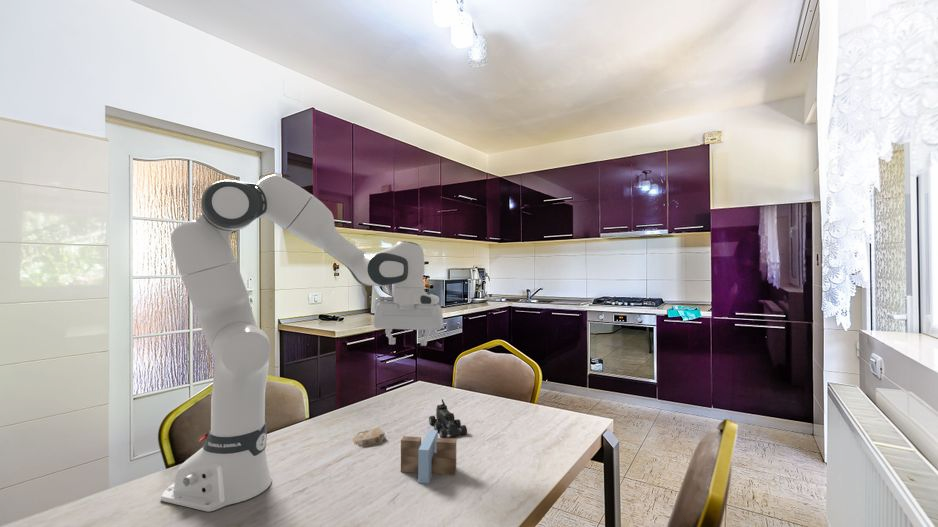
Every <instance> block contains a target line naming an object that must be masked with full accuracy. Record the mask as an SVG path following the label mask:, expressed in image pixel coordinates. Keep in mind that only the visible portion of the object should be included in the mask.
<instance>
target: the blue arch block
mask: <svg viewBox="0 0 938 527" xmlns="http://www.w3.org/2000/svg"><path fill="white" fill-rule="evenodd" d="M438 434H439V432H438V430H435V429H428V430H427V432H426V434H425V435H424V438H423V440H422V441H421V446H420V448H419V450H418V473H417V476H418V477H417V478H418V479H417V480H418V481H417V483H419V484H429V483H430V481H431V479H432V457H433V455H434V453H436V448H437V440H438V438H439V437H438Z"/></svg>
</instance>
